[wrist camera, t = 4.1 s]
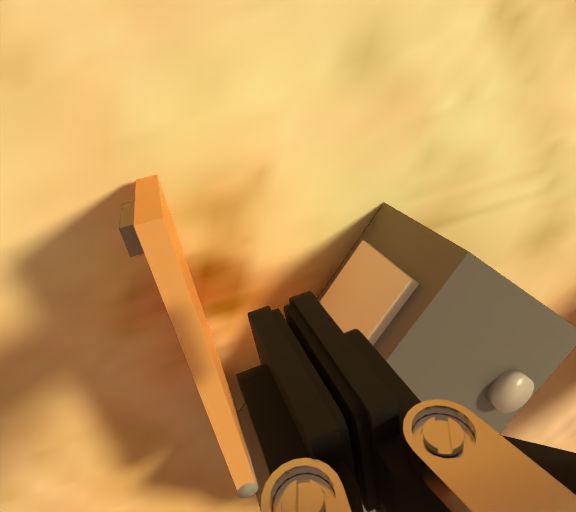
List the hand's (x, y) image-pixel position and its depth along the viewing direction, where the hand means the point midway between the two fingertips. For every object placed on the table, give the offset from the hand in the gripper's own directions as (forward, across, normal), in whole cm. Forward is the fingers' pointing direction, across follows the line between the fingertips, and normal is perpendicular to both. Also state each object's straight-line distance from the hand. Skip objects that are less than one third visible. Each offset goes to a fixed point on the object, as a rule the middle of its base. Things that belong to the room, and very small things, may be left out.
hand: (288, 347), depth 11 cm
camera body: (+8, -6, +9) cm, 14 cm away
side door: (+8, +3, +3) cm, 9 cm away
